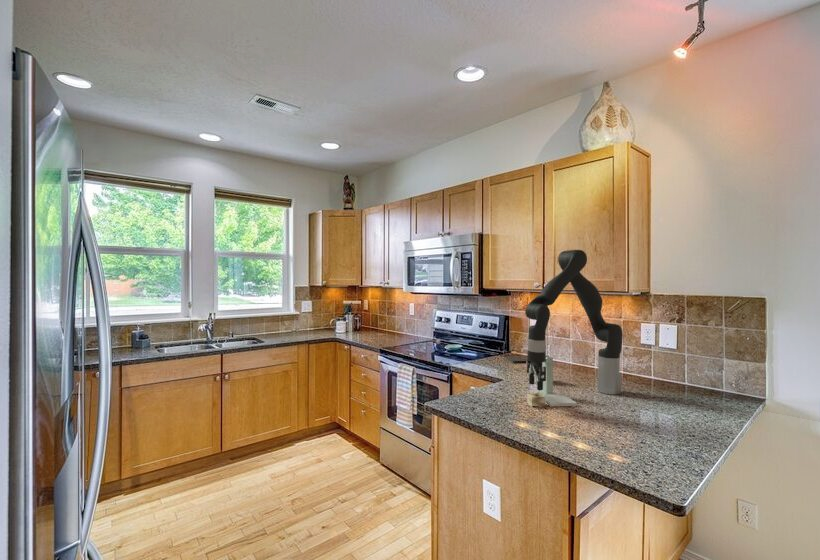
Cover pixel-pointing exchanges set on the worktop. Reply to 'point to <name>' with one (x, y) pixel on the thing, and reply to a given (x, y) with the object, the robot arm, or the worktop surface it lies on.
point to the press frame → (547, 390)
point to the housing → (536, 399)
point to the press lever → (518, 359)
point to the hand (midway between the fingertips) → (535, 387)
